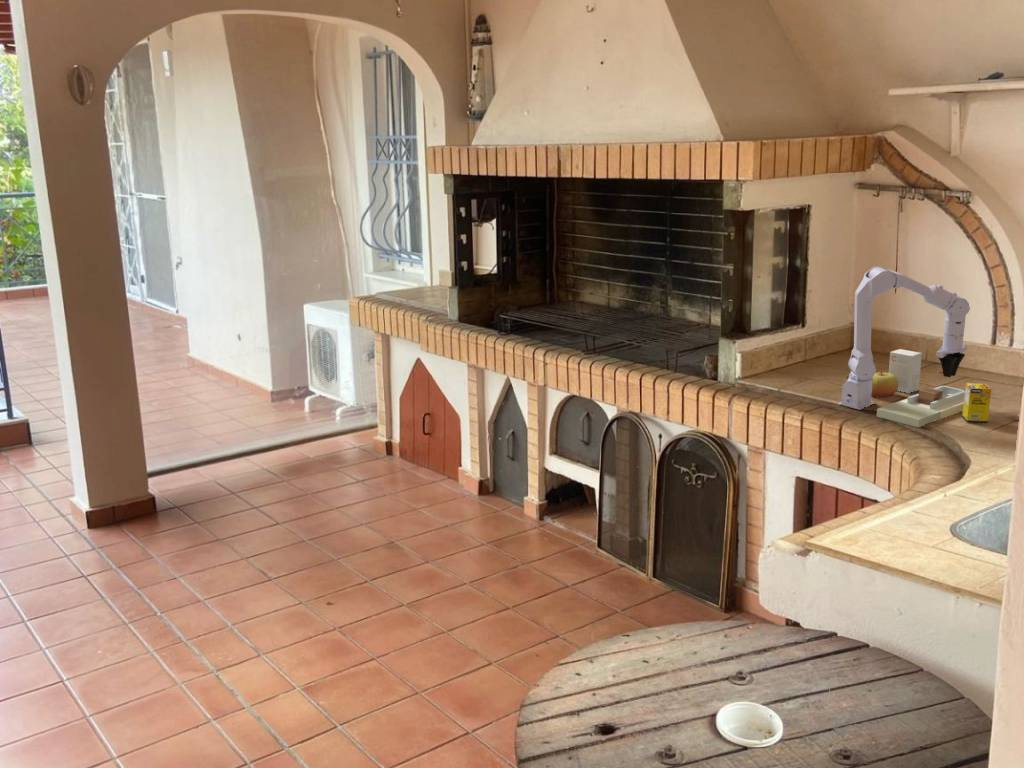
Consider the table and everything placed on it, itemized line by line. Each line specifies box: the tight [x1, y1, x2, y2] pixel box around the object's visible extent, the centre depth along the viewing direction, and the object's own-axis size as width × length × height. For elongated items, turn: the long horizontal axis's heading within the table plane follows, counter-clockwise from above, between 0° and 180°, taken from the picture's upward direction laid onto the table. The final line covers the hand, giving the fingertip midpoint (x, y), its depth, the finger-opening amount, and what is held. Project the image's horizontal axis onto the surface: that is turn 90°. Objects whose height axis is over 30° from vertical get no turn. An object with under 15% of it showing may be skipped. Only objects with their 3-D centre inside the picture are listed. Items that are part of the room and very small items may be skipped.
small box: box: [888, 348, 923, 394], centre depth 324 cm, size 8×6×13 cm
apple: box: [871, 371, 898, 398], centre depth 319 cm, size 10×10×8 cm
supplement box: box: [961, 382, 992, 424], centre depth 292 cm, size 6×6×11 cm
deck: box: [876, 384, 965, 428], centre depth 302 cm, size 32×14×4 cm, turn 127°
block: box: [918, 387, 943, 405], centre depth 302 cm, size 5×5×4 cm
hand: (949, 375), depth 306 cm, fingers closed
